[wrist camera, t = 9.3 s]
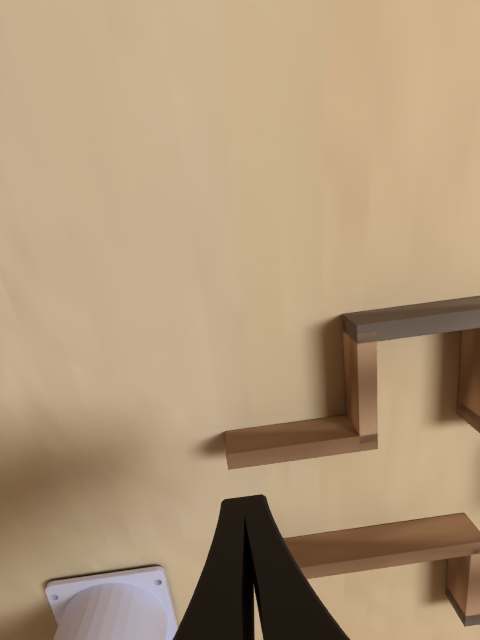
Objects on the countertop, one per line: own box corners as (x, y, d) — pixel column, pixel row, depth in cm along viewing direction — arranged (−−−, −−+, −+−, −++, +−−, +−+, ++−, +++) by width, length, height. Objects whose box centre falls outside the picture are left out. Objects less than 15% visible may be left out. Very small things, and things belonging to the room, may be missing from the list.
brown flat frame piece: (593, 572, 27) (625, 602, 25) (254, 622, 26) (257, 657, 24) (660, 272, 20) (711, 278, 18) (210, 331, 20) (208, 345, 18)
